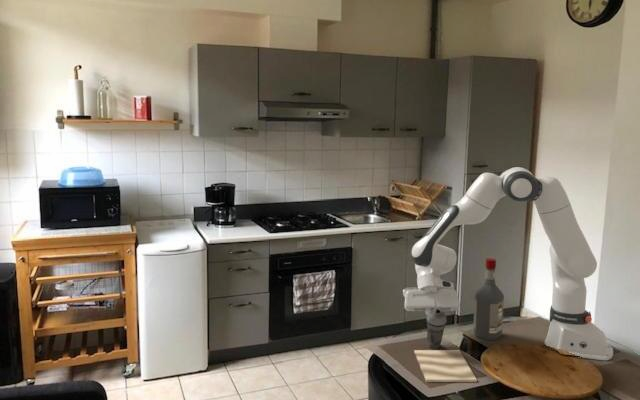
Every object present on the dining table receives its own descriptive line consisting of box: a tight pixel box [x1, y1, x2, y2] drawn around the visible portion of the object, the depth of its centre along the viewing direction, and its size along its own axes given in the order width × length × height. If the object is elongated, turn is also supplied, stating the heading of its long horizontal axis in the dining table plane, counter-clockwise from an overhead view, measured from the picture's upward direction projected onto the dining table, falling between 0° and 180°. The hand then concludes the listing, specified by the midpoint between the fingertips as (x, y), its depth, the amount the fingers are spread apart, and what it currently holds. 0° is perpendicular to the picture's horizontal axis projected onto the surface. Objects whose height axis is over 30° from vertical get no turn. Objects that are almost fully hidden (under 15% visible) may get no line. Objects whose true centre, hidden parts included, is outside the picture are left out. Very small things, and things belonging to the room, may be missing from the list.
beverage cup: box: [425, 300, 448, 350], centre depth 196 cm, size 7×7×20 cm
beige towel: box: [413, 349, 478, 383], centre depth 185 cm, size 22×16×1 cm
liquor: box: [473, 258, 505, 341], centre depth 208 cm, size 9×9×30 cm
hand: (434, 321), depth 200 cm, fingers closed
